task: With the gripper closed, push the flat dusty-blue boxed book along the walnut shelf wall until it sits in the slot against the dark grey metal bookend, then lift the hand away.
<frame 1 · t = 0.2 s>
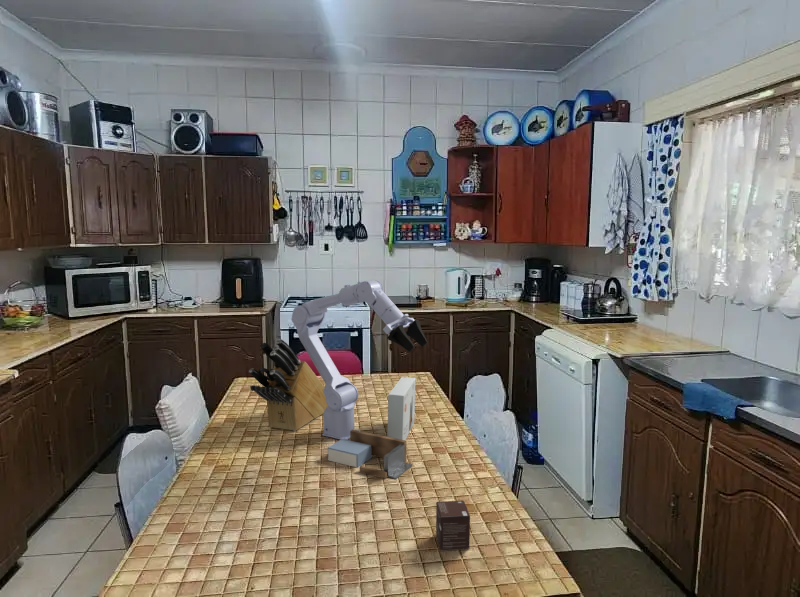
hand: (418, 346, 144), 31 cm above the table, tool tilted 50°, fingers open, 7 cm apart
box: (452, 542, 104), on the table
knife block: (295, 422, 173), on the table
shelf: (377, 455, 146), on the table
skincare box: (402, 433, 163), on the table
bookend: (394, 469, 137), on the table
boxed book: (350, 459, 144), on the table
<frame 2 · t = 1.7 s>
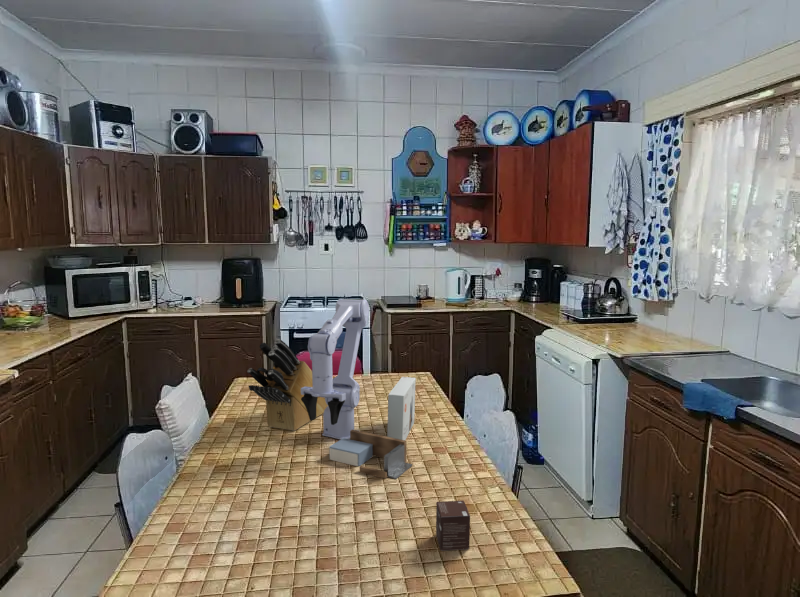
hand: (323, 421, 147), 9 cm above the table, tool pointing down, fingers open, 7 cm apart
nothing on the table moved.
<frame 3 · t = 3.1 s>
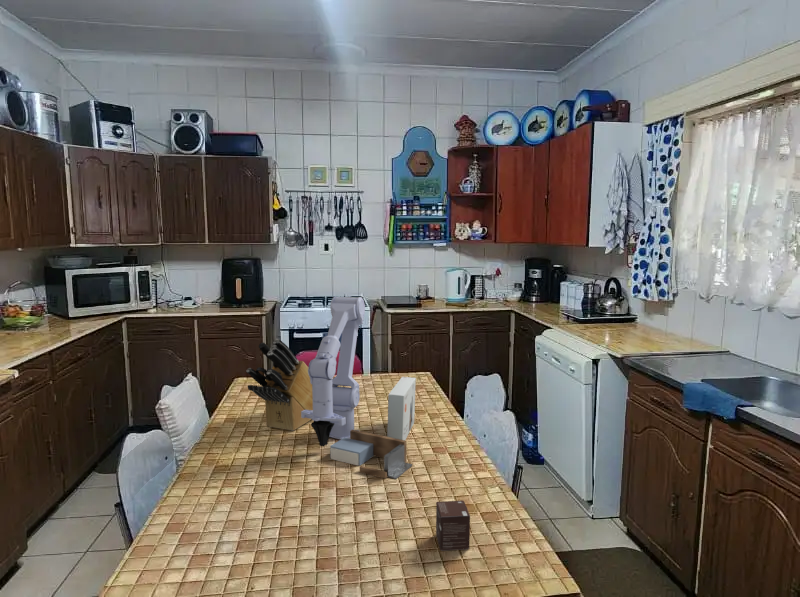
hand: (323, 444, 148), 2 cm above the table, tool pointing down, fingers closed
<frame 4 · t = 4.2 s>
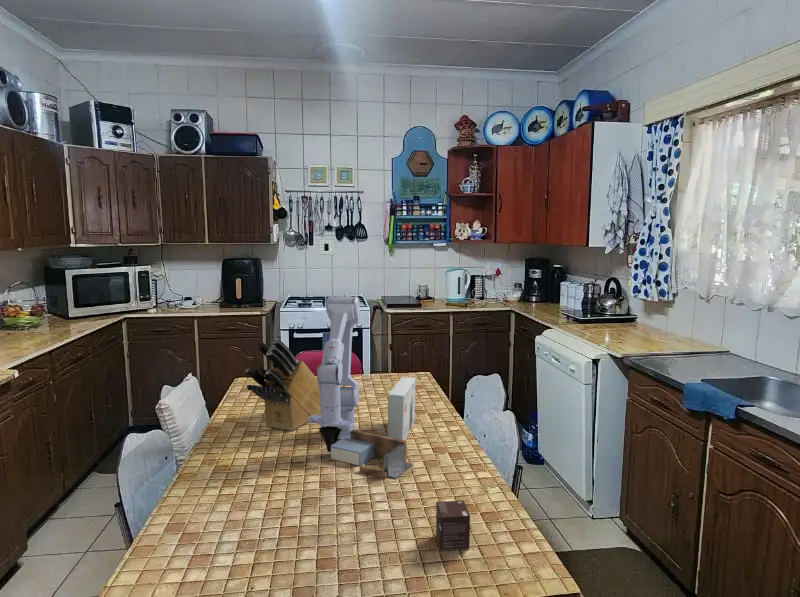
hand: (331, 450, 146), 1 cm above the table, tool pointing down, fingers closed
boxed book: (352, 458, 145), on the table, touching gripper
everything else where it was.
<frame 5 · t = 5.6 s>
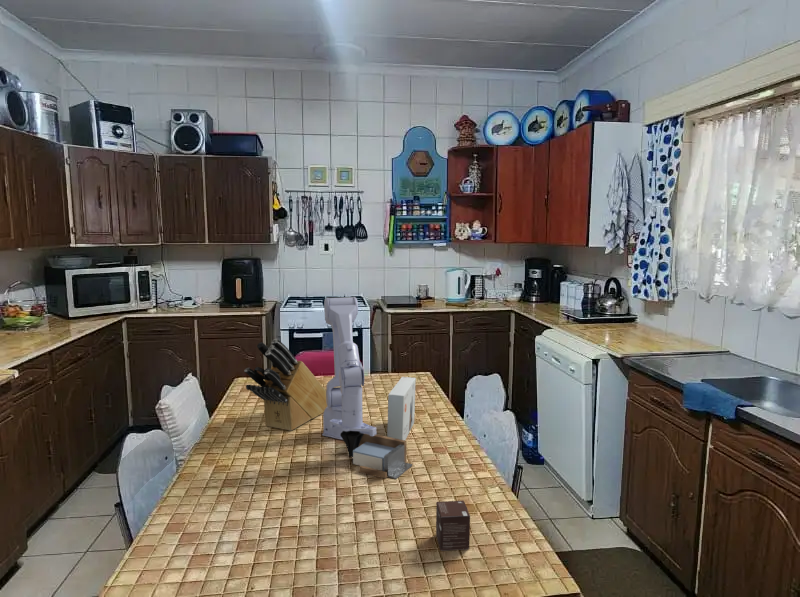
hand: (352, 455, 143), 1 cm above the table, tool pointing down, fingers closed
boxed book: (375, 463, 141), on the table, touching gripper
everything else where it was.
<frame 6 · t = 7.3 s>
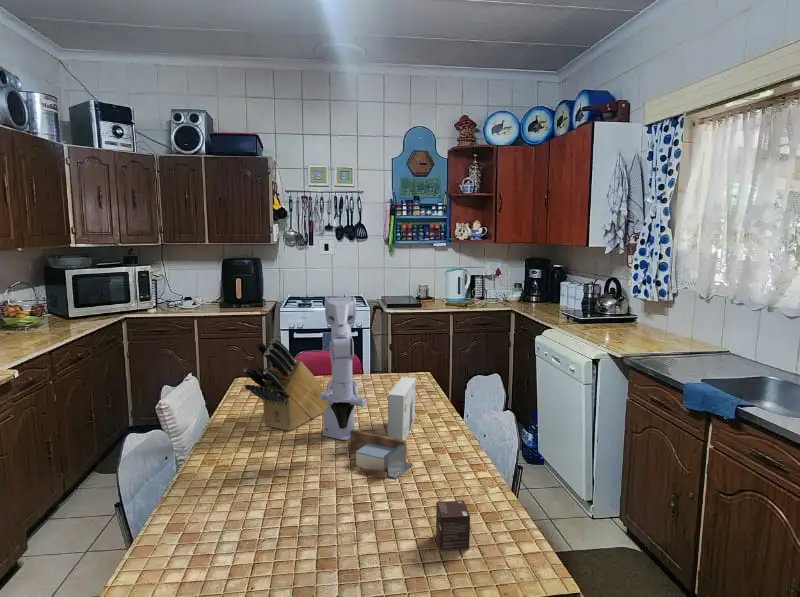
hand: (343, 427, 144), 9 cm above the table, tool pointing down, fingers closed
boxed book: (377, 464, 141), on the table
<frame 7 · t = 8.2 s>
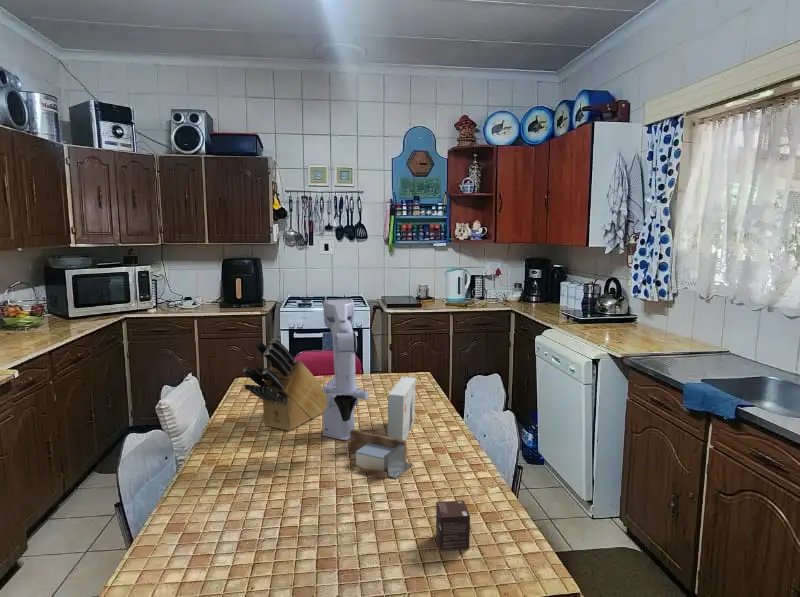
hand: (346, 420, 147), 10 cm above the table, tool pointing down, fingers closed
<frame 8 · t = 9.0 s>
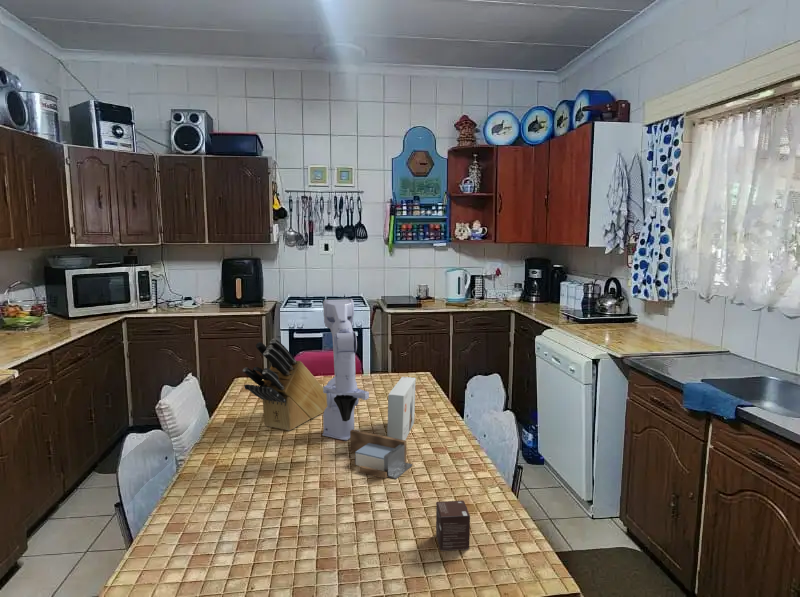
hand: (346, 420, 147), 10 cm above the table, tool pointing down, fingers closed
at the end: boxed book 1.4 cm from the target spot, on the table; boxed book tilted 0°; the gripper is holding nothing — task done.
